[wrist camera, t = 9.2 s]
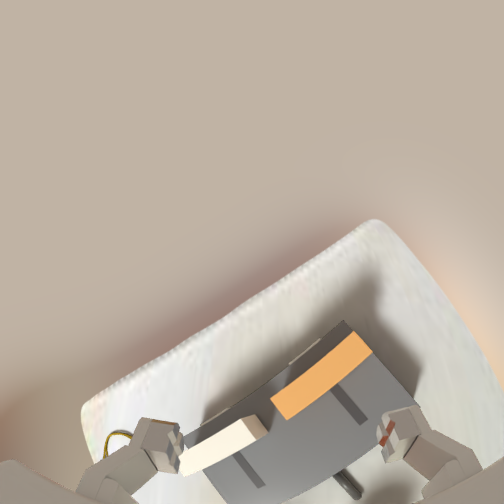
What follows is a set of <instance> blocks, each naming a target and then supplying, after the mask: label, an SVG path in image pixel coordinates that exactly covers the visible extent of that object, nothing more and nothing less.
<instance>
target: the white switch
mask: <svg viewBox="0 0 504 504" xmlns="http://www.w3.org/2000/svg"><path fill="white" fill-rule="evenodd" d="M268 433H269V432H268V431H267V430H266V428H265V427H264V426H263V424H262V423H261V422H260V420H259V419H258V418H257V416H256V415H255V414H254V415H251V416H247V417H244V418H241V419H239V420H237V421H236V422H234V423H233V424H231V425H230V426H228V427H226V428H225V429H223V430H221V431H220V432H218V433H216V434H215V435H213V436H211V437H209V438H208V439H206V440H204V441H202V442H201V443H199V444H197V445H195V446H193V447H192V448H190V449H188V450H186V451H184V452H183V454H181V455H180V456H179V460H180V466H179V470H180V471H181V473H182V474H183V476H184V477H186V476H189V475H191V474H193V473H196V472H198V471H200V470H202V469H205V468H207V467H209V466H211V465H213V464H215V463H217V462H219V461H221V460H223V459H224V458H226V457H228V456H230V455H232V454H234V453H236V452H237V451H239V450H241V449H243V448H245V447H246V446H248V445H250V444H251V443H253V442H255V441H256V440H258V439H260V438H261V437H263V436H265V435H266V434H268Z"/></svg>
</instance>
